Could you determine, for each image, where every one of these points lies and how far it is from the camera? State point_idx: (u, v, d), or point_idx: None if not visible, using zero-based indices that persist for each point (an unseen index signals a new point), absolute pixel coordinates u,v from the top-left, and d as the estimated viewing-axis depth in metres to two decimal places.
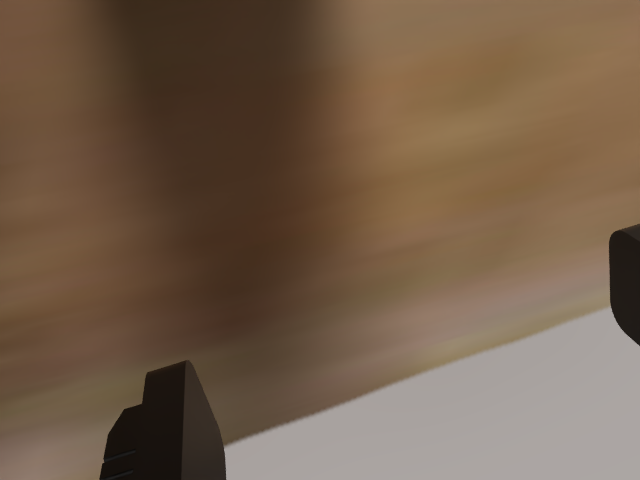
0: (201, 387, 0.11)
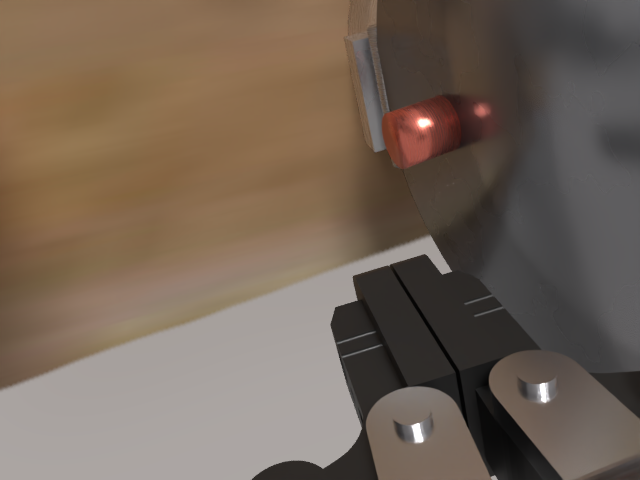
0: None
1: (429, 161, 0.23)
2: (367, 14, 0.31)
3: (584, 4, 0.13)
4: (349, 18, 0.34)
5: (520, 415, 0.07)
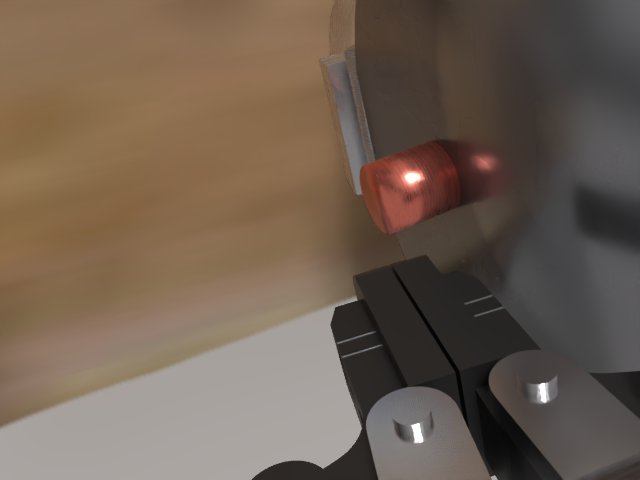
0: None
1: None
2: (349, 28, 0.26)
3: None
4: (330, 31, 0.30)
5: (520, 415, 0.07)
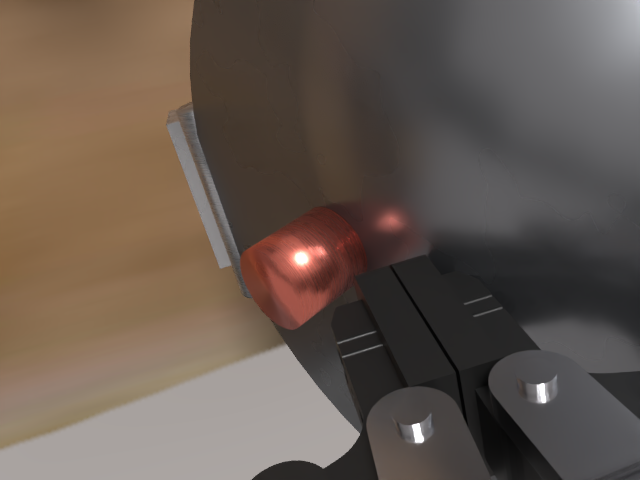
0: None
1: None
2: None
3: None
4: None
5: (520, 415, 0.07)
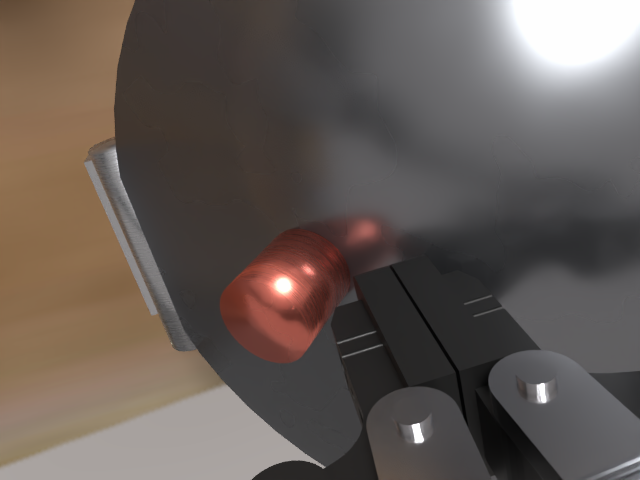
0: None
1: None
2: None
3: None
4: None
5: (520, 415, 0.07)
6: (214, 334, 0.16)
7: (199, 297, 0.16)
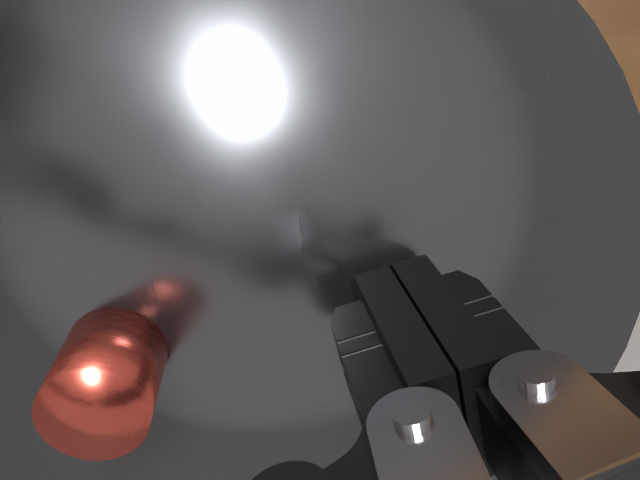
0: None
1: None
2: None
3: (417, 59, 0.10)
4: None
5: (520, 415, 0.07)
6: (6, 467, 0.14)
7: None
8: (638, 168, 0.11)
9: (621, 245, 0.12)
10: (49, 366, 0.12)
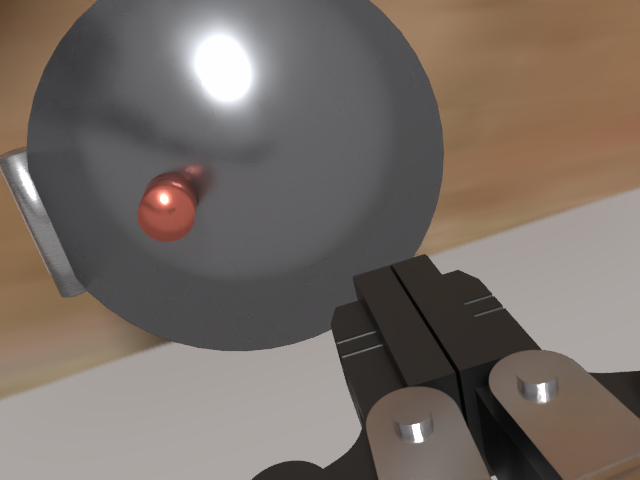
0: None
1: (145, 251, 0.24)
2: None
3: (321, 47, 0.22)
4: None
5: (520, 415, 0.07)
6: (102, 272, 0.24)
7: (90, 245, 0.24)
8: (430, 103, 0.23)
9: (427, 143, 0.24)
10: (133, 207, 0.23)
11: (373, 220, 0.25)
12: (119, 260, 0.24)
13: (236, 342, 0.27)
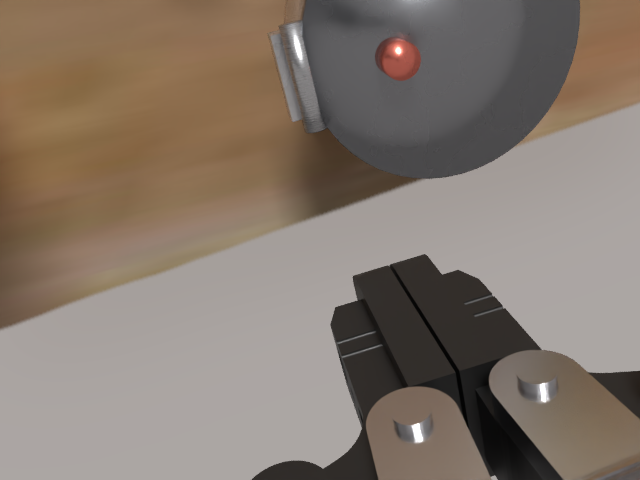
0: None
1: (370, 97, 0.34)
2: (292, 16, 0.39)
3: None
4: (285, 19, 0.42)
5: (520, 415, 0.07)
6: (339, 113, 0.34)
7: (334, 92, 0.34)
8: None
9: (568, 16, 0.34)
10: (367, 63, 0.33)
11: (527, 75, 0.35)
12: (352, 104, 0.34)
13: (423, 171, 0.37)
